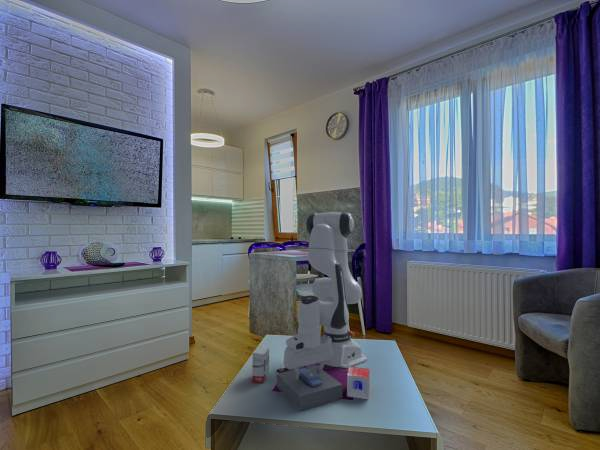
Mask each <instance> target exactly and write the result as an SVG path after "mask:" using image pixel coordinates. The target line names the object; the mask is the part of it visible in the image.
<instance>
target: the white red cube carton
mask: <svg viewBox="0 0 600 450" xmlns="http://www.w3.org/2000/svg"><path fill="white" fill-rule="evenodd" d="M369 394H370V368H366V367H365V368H364V367H357V366H352V367H350V366H349V368H348V371H347V375H346V396H347V397H351V398H357V399H365V400H369V399H370V398H369V396H370V395H369Z"/></svg>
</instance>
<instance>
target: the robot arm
mask: <svg viewBox="0 0 600 450" xmlns="http://www.w3.org/2000/svg"><path fill="white" fill-rule="evenodd" d="M305 227H306V232H308V234H309V235H310V236H309V242H308V249H307V254H308V255H307V260H308V263H309V264H310V266H311V267H312V268H313V269H314V270H316V271H318V272H320V273H322V274H324V275H326V276H328V277H325V276H324V277H317V278H316V279H315V280H314V281H313V283H312V284H311V285H312V286H311V292H312V294H313V295H305V296H302V297H301V298H300V299H299V301H298V302H299V303H298V310H297V322H298V329H297V333H296V334H294V335H293V336H291V337H289V338H287V339H286V340H285V344H286V347H285V350H284V353H283V354H284V355H283V366H284V368H287V369H289V370H291V369H293V370H294V372H295V377H296V379H300V378H301V374H300V373H299V372H298V371H297V370H299V368H300V367H304V366H306V367H309V366H313V365H316V364H319V365H318V367H317V373H318V374H319V373H322V370H323V368H324V366H325V365H326V366H329V367H334V368H335V367H336V368H343V369H349V366H350V367H355V366H357V365H359V364H361V363H364V362H366V361H367V356H366V355H365V354H363V352H362V347H361V346H360V344H359V343H358V342H356V341H355V340H353V339H352V338H351V337H355V332H353V331H351V330H350V331H349V330H348V324H349V319H350V316H349V315H350V314H349V313H350V312H349V307H348V305H353V304H357V303H358V302H360V301H361V299H362V296H363V290H362V287H361V285H360V284H359V283H358V282H357V281H356V279H355V278H354V277H353V275H352V273H351V271H350V268H349V259H348V258H349V257H348V256H349V255H348V240H347V238H348V236H350V235H351V234H352V233H353V231H354V227H355V220H354V217H353V215H352V214H351V213H349V212H346V211H345V212H344V211H343V212H339V211H329V212H321V213H317V212H315V213H311V214H310V215H309V216H307V218H306V221H305ZM320 326H321V327H323V328H324V329H323V331H321V327H320ZM321 332H323V334H322V333H321ZM321 335H322V336H321Z"/></svg>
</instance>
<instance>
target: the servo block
mask: <svg viewBox="0 0 600 450" xmlns="http://www.w3.org/2000/svg"><path fill="white" fill-rule="evenodd" d="M297 371H298V372H299V373H300V374H301V378H300V380H301V381H303V382H304V383H305V384H306V385H307V386H309V385H311V386H313V387H314V386H318V385H322V382H321V381H320V380H319V379H318V376H317V375H315V374H314V373H313V372H311V371H310V370H309V369H308V370H306V369H305V368H304V369H300V370H297Z"/></svg>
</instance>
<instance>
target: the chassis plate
mask: <svg viewBox="0 0 600 450" xmlns="http://www.w3.org/2000/svg"><path fill="white" fill-rule="evenodd" d="M317 367H319V365H316V364H312V365H308V366H306V367H304V368H305V369H306V370H308V369H309V370H310V371H311V372H313V373H314V374H315V375H317V376H318V379H319V380H320V381H321V382H322V385H318V386H314V387H313V386H311V385H309V386H307V385H306V384H305V383H304V382H303V381H301V380H300V379H296V377H295V372H294V370H291V371H287V372H283V373H278V372H277V373H276V388H277V389H279V390H280V392H281V393H282V394H283V395H284V396H285V397H286V398H287V399H288V400H289V402H290V403H291V404H292V406H294V407H295V408H296V409H297V410H298V411H299V412H301V411H304V410H307V409H311V408H315V407H318V406H320V405H324V404H327V403H331V402H334V401H337V400H341V399H343V384H342V383H341V382H340V381H338V379H335V378H334V377H333V376H331V374H329V373H327V372H326V371H325V370H324V369H322V373H319V374H318V373H317ZM304 368H300V369H304ZM300 369H299V370H300Z"/></svg>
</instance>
